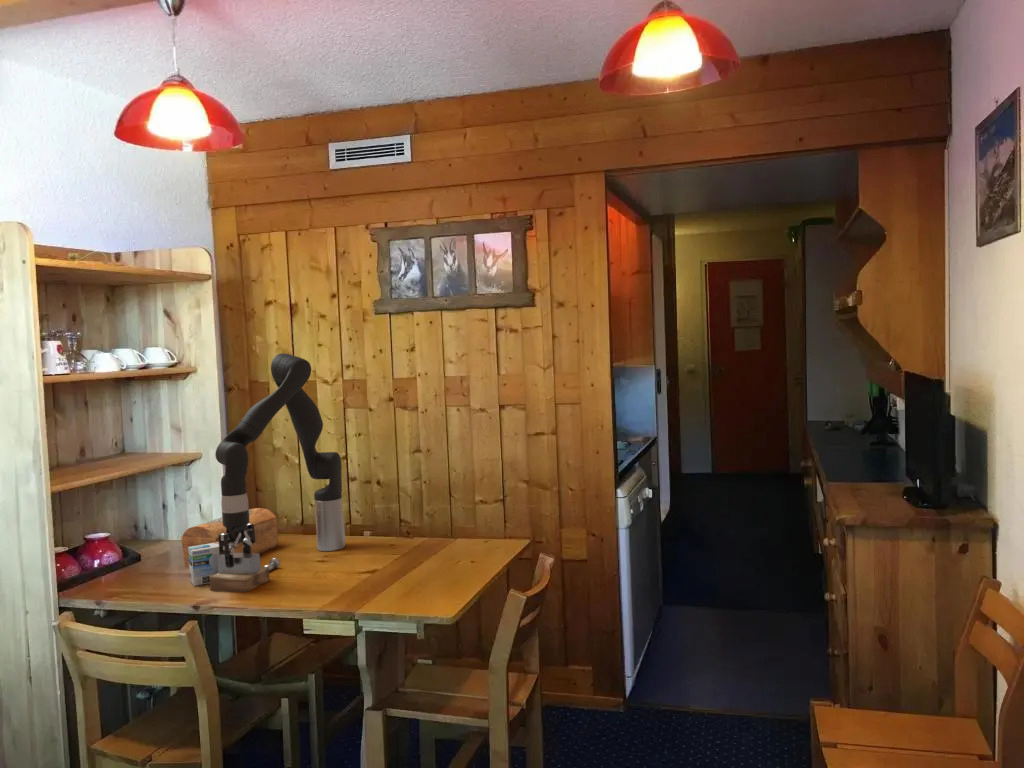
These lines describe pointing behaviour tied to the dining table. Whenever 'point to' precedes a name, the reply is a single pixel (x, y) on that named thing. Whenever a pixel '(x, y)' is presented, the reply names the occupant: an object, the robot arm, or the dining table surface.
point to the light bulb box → (203, 562)
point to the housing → (240, 564)
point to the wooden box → (210, 532)
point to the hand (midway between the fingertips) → (238, 563)
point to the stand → (238, 581)
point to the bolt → (273, 564)
